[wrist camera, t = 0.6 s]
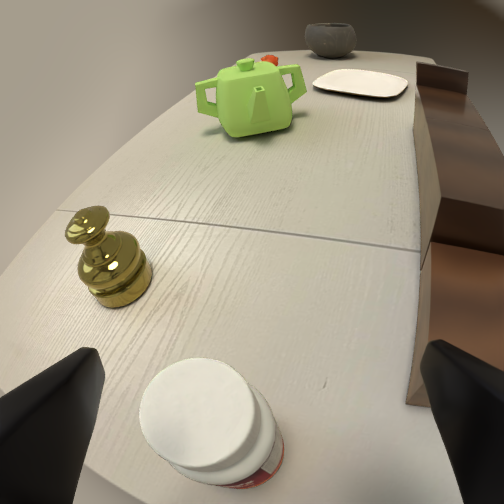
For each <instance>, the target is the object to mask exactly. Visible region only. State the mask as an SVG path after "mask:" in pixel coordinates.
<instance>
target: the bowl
mask: <svg viewBox="0 0 504 504" xmlns="http://www.w3.org/2000/svg"><path fill="white" fill-rule="evenodd" d="M305 40H306V43H307V45H308V47H309V48H310V49H311V50H312V51H313V52H314V53H316V54H318V55H320V56H323V57H327V58H338V57H342V56H345V55H347V54H348V53H350V52H351V51H352V50H353V49H354V47H355V45H356V35H355V32H354V29H353V28H352V26H351V25H348V24H340V23H330V24H328V23H321V24H313V25H312V24H310V25H308V26H307V28H306V31H305Z"/></svg>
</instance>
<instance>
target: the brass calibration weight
mask: <svg viewBox="0 0 504 504" xmlns="http://www.w3.org/2000/svg"><path fill="white" fill-rule="evenodd" d="M109 218H110V214H109V211H108V210H107V208H105V207H104V206H92V207H88V208H84V209H81V210H80V211H78V212H77V213H76V214H75V215H74V217H73V218H72V219H71V221H70V222H69V224H68V225H67V228H66V230H65V237H66V239H67V241H68V242H70V243H72V244H83V245H85V247H84V250H83V252H82V255H81V257H80V259H79V262H78V275H79V278H80V279H81V281H82V282H83V283H84V284H85V285H86V286H88V289H89V291H90V292H91V293H92V294H93V295H94V296H95V298H96V299H97V300H98V301H99V303H101V304H102V305H104V306H106V307H111V308H116V307H122V306H125V305H127V304H129V303H131V302H133V301H134V300H136V299H137V298H138V297H139V296H140V295H141V294H142V293H143V292H144V291H145V290H146V288H147V287H148V285H149V283H150V280H151V275H152V270H151V266H150V264H149V262H148V261H147V259H146V256H145V254H144V252H143V251H142V250H141V249H140V246H139V243H138V241H137V239H136V238H135V237H134V236H133V235H132V234H130V233H128V232H124V231H114V232H113V231H106V230H105V228H106V226H107V224H108V222H109Z"/></svg>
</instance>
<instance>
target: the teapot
mask: <svg viewBox="0 0 504 504" xmlns="http://www.w3.org/2000/svg"><path fill="white" fill-rule="evenodd" d="M236 64H237V66H233V67H229V68H224V69H221V70H220V71H219V72H218V76H217V78H213V79H209V80H204V81H200V82H196V83H195V86H196V98H197V108H198V112H199V113H202V114H206V115H210V116H213V117H217V118H219V121H220V123H221V125H222V126H223V128H224V129H225V131H226V132H227V133H228V134H229V135H230V136H231V137H242V136H248V135H254V134H259V133H264V132H269V131H274V130H279V129H283V128H287V127H288V126H289V125H290V123H291V120H292V106H291V104H292V103H293V102H294V101H295V100H297V99H298V98H299V97H301V96H302V95H303V94H305V93H306V92H307V90H306V86H305V83H304V79H303V75H302V72H301V68H300V66H299V65H298V64H294V65H286V66H278V67H276V66H275V65H274V64H272V63H270V62H267V61H263V62H256V63H254V59H252V58H247V59H242V60H238V61H237V62H236ZM289 73H291V76H292V82H293V86H292V87H290V88H289V89H287V87H286V85H285V82H284V80H283V78H282V76H281V75H285V74H289ZM214 87H216V104H215V103H211V102H207V98H206V93H205V89H207V88H214Z"/></svg>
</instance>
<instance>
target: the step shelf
mask: <svg viewBox="0 0 504 504" xmlns="http://www.w3.org/2000/svg"><path fill="white" fill-rule="evenodd" d="M467 85H468V72H467V71H464V70H459V69H455V68H450V67H445V66H440V65H435V64H429V63H423V62H416V93H415V111H414V124H413V134H414V142H415V150H416V160H417V170H418V183H419V200H420V228H421V260H420V271H421V274H420V288H419V305H418V317H417V328H416V338H415V347H414V354H413V362H412V369H411V375H410V382H409V388H408V393H407V399H406V404H410V405H417V406H424V407H430V403H429V400H428V396H427V393H426V389H425V386H424V382H423V379H422V376H421V373H420V362H421V359H422V356H423V354H424V351H425V348H426V345H427V343H428V342H429V341H431V340H437V339H442V340H444V341H446V342H448V343H450V344H452V345H454V346H456V347H458V348H460V349H462V350H464V351H466V352H468V353H469V354H471V355H473V356H475V357H477V358H479V359H481V360H483V361H485V362H487V363H489V364H491V365H492V366H494V367H496V368H498V369H500V370H502V371H504V156H503V154H502V152H501V150H500V148H499V147H498V145H497V143H496V141H495V139H494V138H493V136H492V134H491V132H490V131H489V129H488V127H487V126H486V124H485V122H484V121H483V119H482V118H481V116H480V114H479V113H478V111H477V110H476V108H475V106H474V105H473V103H472V102H471V101H470V99H469V98H468V96H467Z"/></svg>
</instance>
